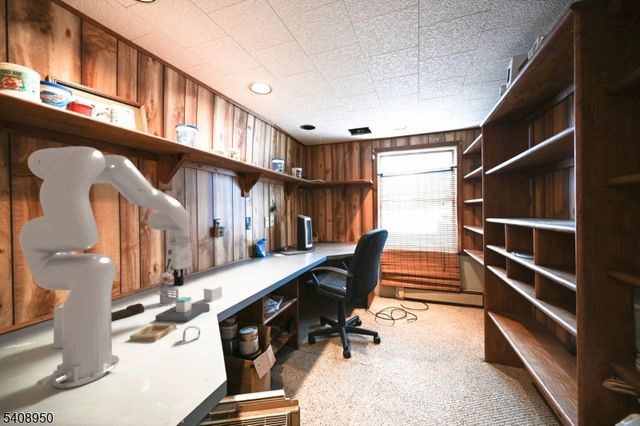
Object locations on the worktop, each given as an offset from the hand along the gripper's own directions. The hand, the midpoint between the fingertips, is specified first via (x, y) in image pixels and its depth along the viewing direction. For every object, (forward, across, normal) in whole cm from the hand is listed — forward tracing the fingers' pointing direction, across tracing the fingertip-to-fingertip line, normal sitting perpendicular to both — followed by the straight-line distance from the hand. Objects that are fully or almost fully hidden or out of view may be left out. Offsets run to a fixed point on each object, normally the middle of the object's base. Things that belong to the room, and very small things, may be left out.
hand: (178, 285), depth 101 cm
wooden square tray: (+14, -15, -3) cm, 21 cm away
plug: (+13, +1, -1) cm, 13 cm away
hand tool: (+14, -3, +26) cm, 30 cm away
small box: (+14, -22, +22) cm, 34 cm away
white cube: (+13, +24, 0) cm, 27 cm away
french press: (+13, +16, +20) cm, 29 cm away
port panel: (+13, +2, -1) cm, 13 cm away
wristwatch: (+14, -17, -19) cm, 30 cm away
